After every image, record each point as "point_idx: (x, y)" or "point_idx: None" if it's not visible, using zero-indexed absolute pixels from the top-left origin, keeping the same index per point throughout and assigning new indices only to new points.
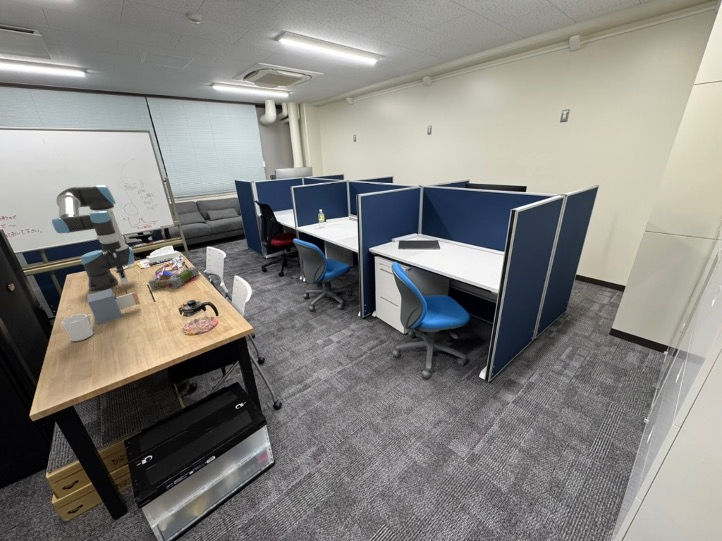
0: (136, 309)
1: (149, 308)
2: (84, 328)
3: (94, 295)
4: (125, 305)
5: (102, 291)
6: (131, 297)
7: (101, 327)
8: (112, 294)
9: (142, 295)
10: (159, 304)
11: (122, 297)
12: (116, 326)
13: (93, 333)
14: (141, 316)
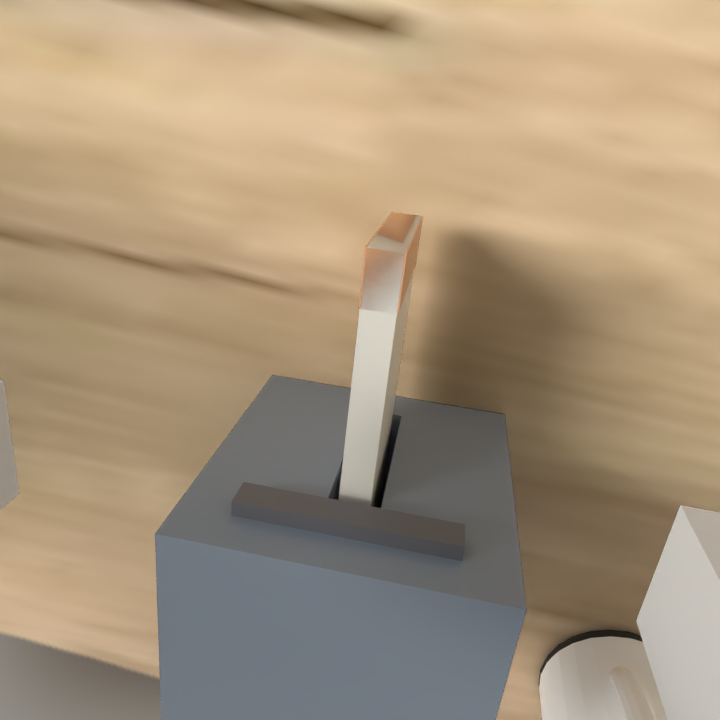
0: (436, 265)
1: (555, 150)
2: None
3: (267, 713)
4: (397, 369)
5: (184, 625)
6: (400, 315)
7: (562, 571)
8: (454, 599)
9: (48, 92)
10: (551, 8)
11: (383, 422)
12: (681, 501)
13: (638, 637)
14: (700, 284)
